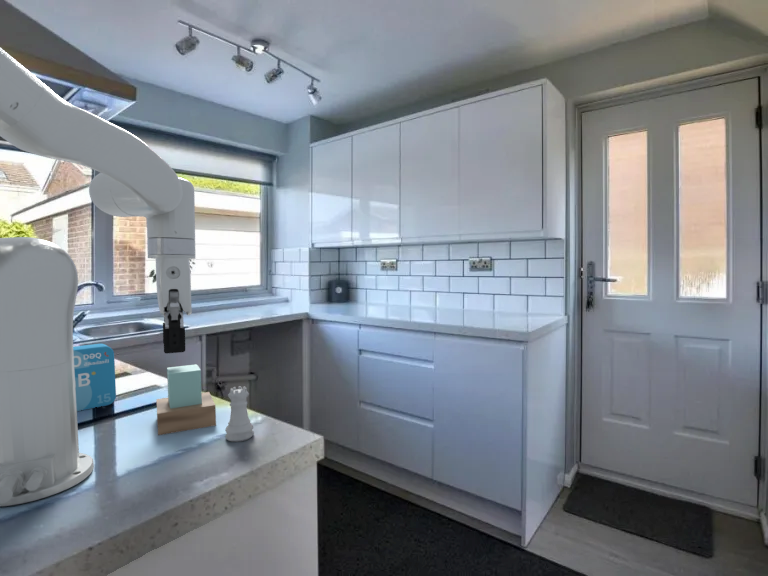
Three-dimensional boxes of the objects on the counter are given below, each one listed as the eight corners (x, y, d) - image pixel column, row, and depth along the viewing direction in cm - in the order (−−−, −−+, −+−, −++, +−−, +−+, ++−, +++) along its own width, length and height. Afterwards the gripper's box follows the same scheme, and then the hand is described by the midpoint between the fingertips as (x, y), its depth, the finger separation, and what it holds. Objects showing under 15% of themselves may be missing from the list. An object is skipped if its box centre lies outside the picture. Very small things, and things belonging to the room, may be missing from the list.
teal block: (201, 403, 77) (200, 370, 77) (170, 408, 75) (168, 373, 75) (198, 396, 82) (197, 364, 81) (168, 400, 79) (167, 367, 79)
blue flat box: (42, 418, 81) (38, 354, 80) (39, 412, 85) (35, 350, 84) (116, 403, 89) (113, 345, 89) (111, 398, 93) (108, 342, 92)
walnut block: (216, 427, 77) (215, 405, 77) (158, 437, 73) (157, 413, 72) (209, 412, 85) (209, 391, 85) (157, 420, 81) (156, 399, 80)
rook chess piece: (221, 436, 72) (219, 388, 71) (247, 429, 75) (246, 383, 74) (231, 445, 68) (229, 394, 68) (258, 437, 71) (257, 388, 71)
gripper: (199, 248, 71) (201, 354, 71) (191, 252, 86) (193, 339, 87) (146, 247, 67) (148, 358, 68) (148, 251, 83) (150, 342, 83)
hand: (173, 348), depth 77 cm, fingers open, 9 cm apart
